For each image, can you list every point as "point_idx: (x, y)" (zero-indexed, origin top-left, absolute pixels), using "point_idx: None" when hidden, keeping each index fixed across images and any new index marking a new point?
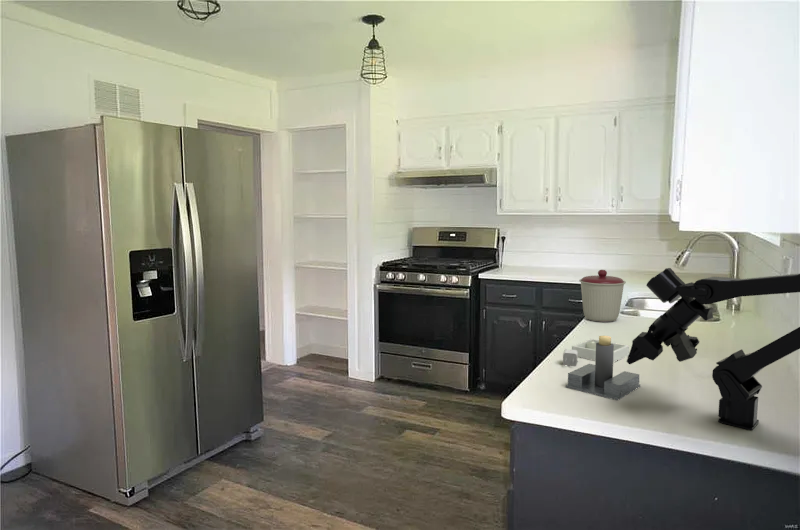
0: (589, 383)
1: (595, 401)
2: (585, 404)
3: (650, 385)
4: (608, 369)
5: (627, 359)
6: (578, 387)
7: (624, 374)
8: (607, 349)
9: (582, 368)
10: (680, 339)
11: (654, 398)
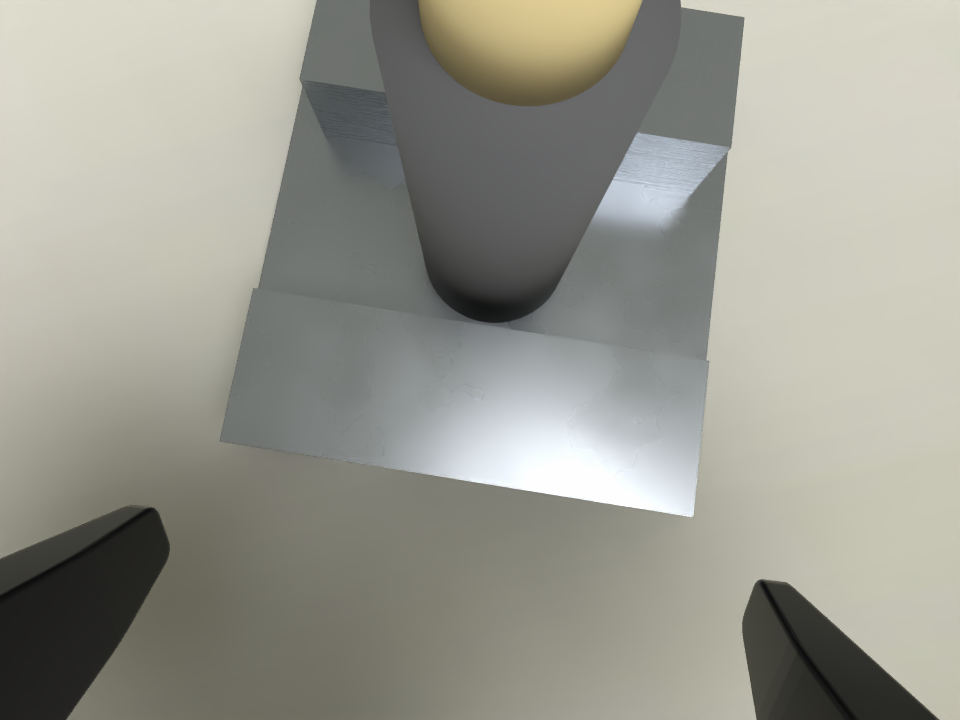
0: None
1: (120, 303)
2: (15, 260)
3: (773, 576)
4: (435, 252)
5: (82, 528)
6: (310, 113)
7: (597, 390)
8: (401, 114)
9: None
10: None
11: (448, 683)
